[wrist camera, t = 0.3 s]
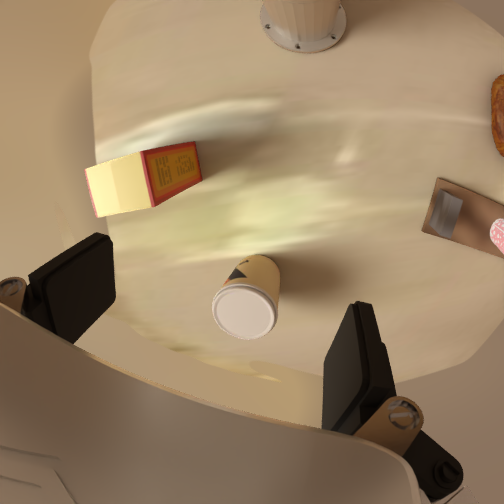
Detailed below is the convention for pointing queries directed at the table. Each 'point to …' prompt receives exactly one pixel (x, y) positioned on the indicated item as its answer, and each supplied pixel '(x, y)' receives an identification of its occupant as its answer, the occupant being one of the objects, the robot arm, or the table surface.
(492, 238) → the beverage cup
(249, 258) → the coffee cup
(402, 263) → the table surface
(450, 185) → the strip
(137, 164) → the baking soda box
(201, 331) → the table surface
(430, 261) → the table surface
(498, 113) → the croissant
